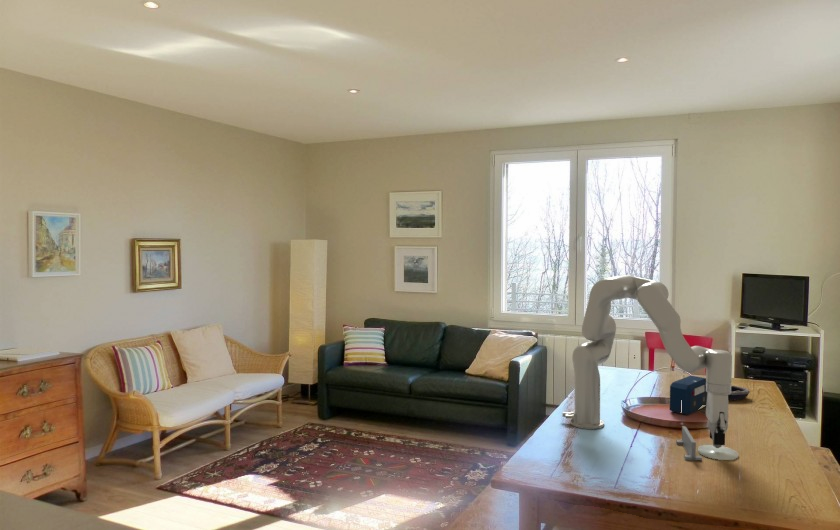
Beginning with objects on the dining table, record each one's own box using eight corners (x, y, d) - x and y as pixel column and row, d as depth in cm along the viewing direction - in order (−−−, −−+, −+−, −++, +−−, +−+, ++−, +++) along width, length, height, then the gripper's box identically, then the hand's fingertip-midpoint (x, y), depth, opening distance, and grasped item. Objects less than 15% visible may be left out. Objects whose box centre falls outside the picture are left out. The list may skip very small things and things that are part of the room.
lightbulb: (729, 452, 193) (730, 419, 192) (709, 450, 194) (710, 418, 193) (724, 445, 199) (725, 413, 198) (704, 444, 200) (705, 412, 199)
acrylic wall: (685, 459, 191) (685, 441, 191) (676, 442, 207) (676, 425, 207) (701, 461, 190) (702, 442, 190) (691, 443, 206) (691, 426, 205)
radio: (688, 417, 235) (689, 367, 233) (667, 412, 241) (668, 364, 240) (711, 406, 248) (712, 359, 247) (690, 402, 255) (691, 356, 254)
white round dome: (702, 458, 192) (702, 456, 192) (694, 445, 204) (694, 443, 204) (742, 461, 189) (742, 459, 189) (732, 448, 201) (732, 446, 201)
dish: (753, 404, 251) (753, 392, 251) (675, 399, 260) (675, 388, 260) (745, 394, 266) (745, 383, 266) (671, 389, 275) (671, 379, 275)
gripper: (700, 380, 204) (699, 432, 206) (712, 394, 188) (711, 450, 189) (724, 381, 203) (722, 433, 204) (738, 395, 186) (736, 452, 187)
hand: (717, 441), depth 196 cm, fingers closed on lightbulb, 4 cm apart
